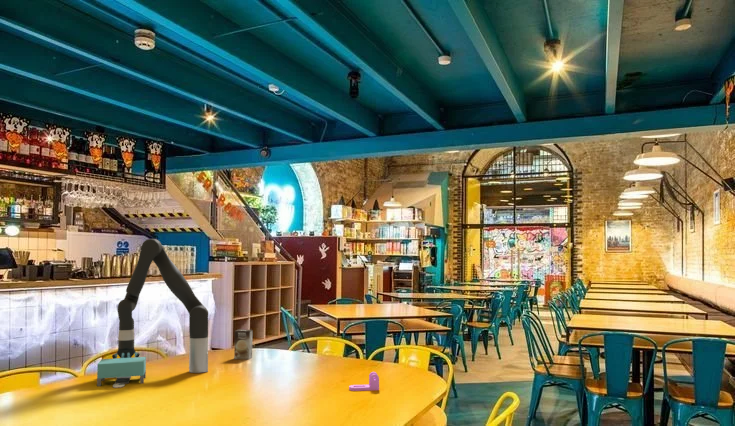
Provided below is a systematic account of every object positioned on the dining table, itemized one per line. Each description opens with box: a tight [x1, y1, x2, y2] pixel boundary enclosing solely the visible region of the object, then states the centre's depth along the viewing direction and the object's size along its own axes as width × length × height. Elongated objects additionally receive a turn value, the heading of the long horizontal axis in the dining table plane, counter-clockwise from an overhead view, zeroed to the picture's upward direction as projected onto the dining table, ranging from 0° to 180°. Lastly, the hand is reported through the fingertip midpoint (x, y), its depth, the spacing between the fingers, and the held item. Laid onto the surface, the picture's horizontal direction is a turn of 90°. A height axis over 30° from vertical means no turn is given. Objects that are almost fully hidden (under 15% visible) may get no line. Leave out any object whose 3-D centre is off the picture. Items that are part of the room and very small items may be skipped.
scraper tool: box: [114, 376, 132, 385], centre depth 290 cm, size 28×6×6 cm, turn 17°
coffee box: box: [233, 328, 253, 360], centre depth 341 cm, size 9×6×16 cm
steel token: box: [112, 383, 126, 389], centre depth 272 cm, size 5×5×1 cm
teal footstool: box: [96, 356, 147, 387], centre depth 282 cm, size 20×13×10 cm, turn 106°
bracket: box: [348, 371, 380, 392], centre depth 264 cm, size 13×6×7 cm, turn 96°
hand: (125, 373), depth 298 cm, fingers closed on scraper tool
